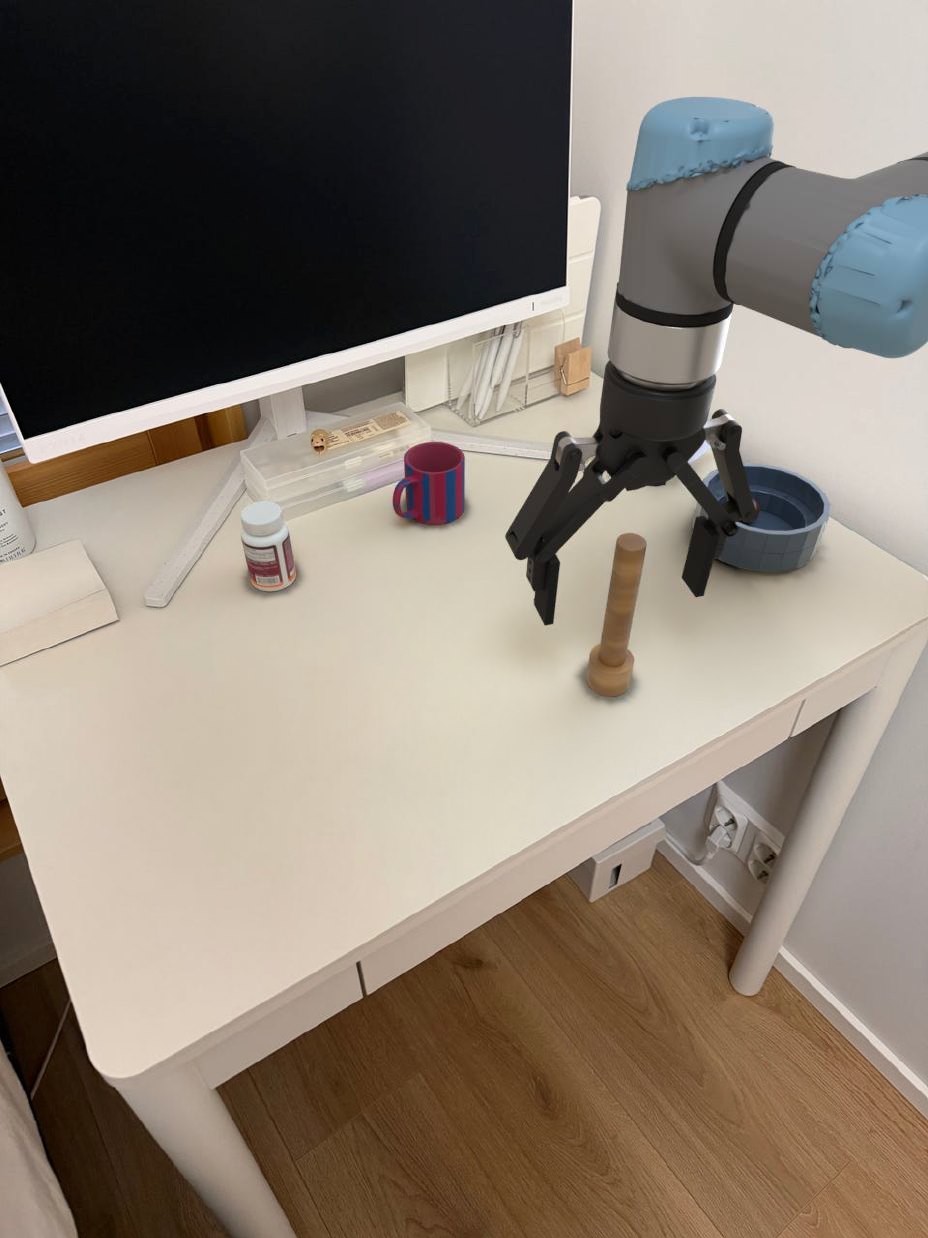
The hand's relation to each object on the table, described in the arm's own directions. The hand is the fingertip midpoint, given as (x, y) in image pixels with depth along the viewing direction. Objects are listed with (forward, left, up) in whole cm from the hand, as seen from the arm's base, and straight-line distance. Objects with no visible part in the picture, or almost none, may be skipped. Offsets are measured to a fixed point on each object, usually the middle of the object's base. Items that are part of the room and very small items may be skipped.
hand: (619, 600), depth 72 cm
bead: (+18, -24, -8) cm, 31 cm away
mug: (+30, +10, -10) cm, 33 cm away
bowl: (+16, -24, -10) cm, 30 cm away
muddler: (0, 0, -10) cm, 10 cm away
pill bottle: (+23, +28, -10) cm, 37 cm away
